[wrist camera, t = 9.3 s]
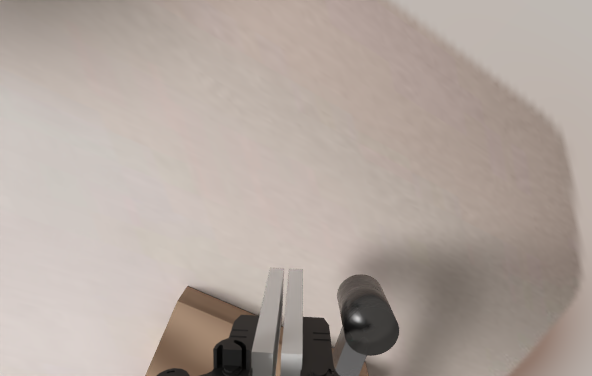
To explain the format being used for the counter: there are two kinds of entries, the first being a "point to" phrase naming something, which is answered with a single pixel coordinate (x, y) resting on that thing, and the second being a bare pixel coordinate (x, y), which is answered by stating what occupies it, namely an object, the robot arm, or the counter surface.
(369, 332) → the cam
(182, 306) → the stand
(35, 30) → the counter surface
